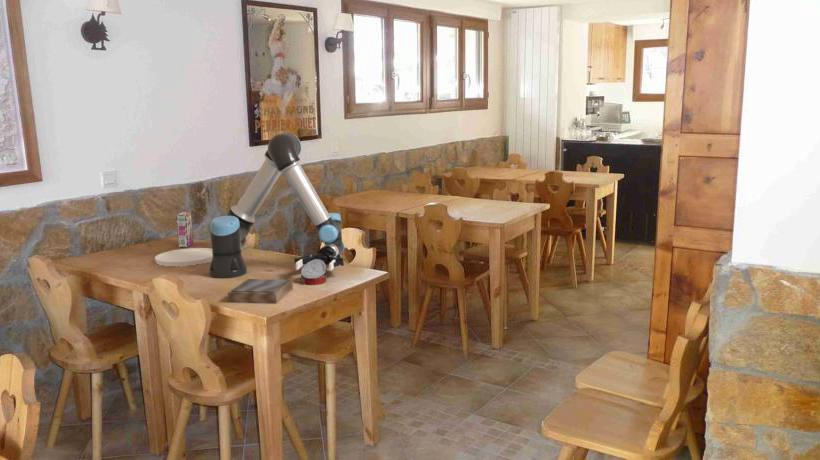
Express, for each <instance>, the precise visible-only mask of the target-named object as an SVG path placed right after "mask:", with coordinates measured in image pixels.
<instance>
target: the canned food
mask: <svg viewBox="0 0 820 460" xmlns="http://www.w3.org/2000/svg"><path fill="white" fill-rule="evenodd" d="M300 270H301V272H300V273H301V275H300V278H301V279H300V281H301V284H302V285H304V286H319V285H320V286H321V285H323V284H325V283H326V282H327V273H326V272H327V265H325V263H324V262H323V260H320V259H315V260H312V261H310V262H308V263H307V264H305V265H303V266H302V267H301V269H300Z"/></svg>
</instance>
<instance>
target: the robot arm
mask: <svg viewBox="0 0 820 460" xmlns="http://www.w3.org/2000/svg"><path fill="white" fill-rule="evenodd" d="M301 150H302V143H301V141H300V138H298V136H297V135H295V134H293V133H291V132H288V131H284V132H280V133H278V134H276V135H273V136H272V137H271V138H270V140H269V141H268V145H267V150H266V151H265V153H264V158H265V160H264V161H263V162H262V164H261V166H260V168H259V169H258V171H257V172H256V174H255V176H254V177H253V179H252V181H250V184H249V185H248V187H247V188H246V190H245V192H244V193H243V195H242V196H241V198H240V199H239V201H238V203H237V204H236V205H233V206H231V207H230V209H229V210H228V211H227V213H226V215H221V216H218V217H214V218H213V219H211V220H210V224H209V231H210V242H211V249H212V255H213V257H212V261H211V262H210V266H209V270H208V271H209V276H210V277H212V278H217V279H218V278H219V279H225V278H226V279H228V278H235V277H239V276H243V275H246V274H247V273H248V269H247V265H246V262H245V259H244V257H243V255H242V250H241V240H242V239H244V238H245V237H246V238H247V236H249V234H250V231H251V228H252V227H253V225H254V223H255V222H256V221H255V220H256V218H255V215H256V214H257V212H258V210H259V209H260V207H261V206H262V205H263V203H264V201H265V199H267V196H268V195H269V193H270V192H271V190H272V189H273V187H274V185H275V184H276V182H277V181H278V179H279V177H280V176H281V175H282V174H283V175H284V176H285V178H286V180H287V181H288V183H289V186H291V188H292V190H293V191H294V193H295V195H296V197H297V198H298V200H299V202H300V203H301V205H302V206H303V209H304V210H305V212H306V213H307V215H308V217H309V218H310V220H311V222H312V223H313V225H314V227H315V229H316V230H317V233H318V234H317V235H318V237H319V240H320V241H321V242H323V243H324V245H323V246H322V247H321V248H320V249H319V250H318V251H317V253H316V254H312V253H308V254H307V255H303V256H299V257H296V258H294V265H295V271H298V270H301V269H302V268H303V267H304V265H306V264H307V263H308V262H310V261H312V260H315V259H320V260H323V262H324V263H325V265H326V266H328V265H329V271H333V270H334V269H335V267H338V266H342V267H343V266H344V264H345V263H344V258H343V257H342V256H341V255H342V254H344V253H343V252H344V251H345V243H344V242H343V236H342V218H341V214H340V213H338V212H337V213H336V212H328V210H327V207H325V205H324V203H323V202H322V199H321V198H320V195H318V193H317V192H316V190H315V189H316V188H314V186H313V184H312V182H311V181H310V179H309V177H308V175H307V174H306V172H305V171H304V169H303V168H302V166H301V159H300V157H299V155H300V154H301Z"/></svg>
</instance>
